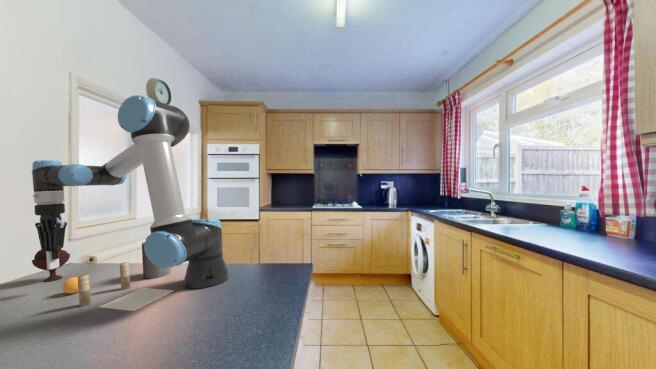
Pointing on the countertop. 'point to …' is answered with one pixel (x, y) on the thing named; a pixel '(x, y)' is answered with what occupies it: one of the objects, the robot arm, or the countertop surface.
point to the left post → (84, 290)
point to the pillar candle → (152, 268)
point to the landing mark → (136, 299)
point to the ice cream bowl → (41, 263)
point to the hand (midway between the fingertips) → (53, 268)
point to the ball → (71, 285)
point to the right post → (125, 275)
